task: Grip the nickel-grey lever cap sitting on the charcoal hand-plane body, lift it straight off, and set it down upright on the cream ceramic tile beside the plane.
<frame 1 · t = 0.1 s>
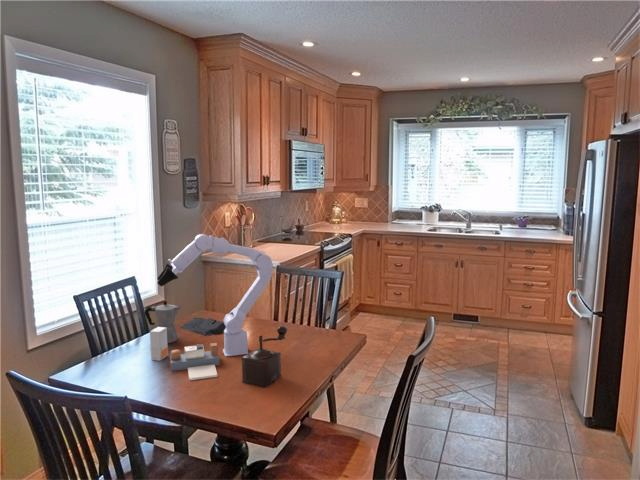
hand: (159, 282, 188), 32 cm above the table, tool tilted 50°, fingers open, 7 cm apart
plane body: (194, 363, 189), on the table
coffeepot: (164, 340, 216), on the table
lever cap: (194, 356, 189), point 3 cm above the table, touching plane body
dark slate chunk: (205, 329, 232), on the table
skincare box: (159, 358, 196), on the table
manual coffee grinder: (266, 377, 177), on the table
tile: (202, 373, 181), on the table
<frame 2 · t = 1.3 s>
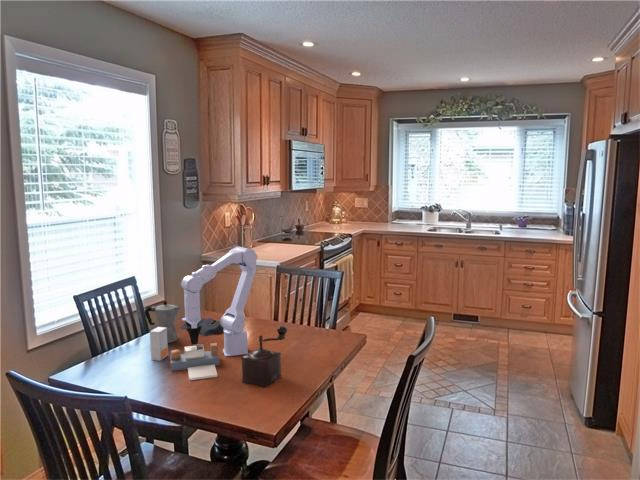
hand: (193, 340, 188), 9 cm above the table, tool pointing down, fingers open, 7 cm apart
nothing on the table moved.
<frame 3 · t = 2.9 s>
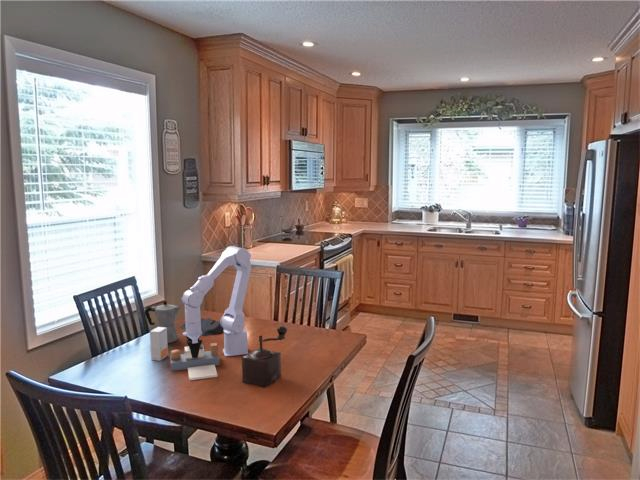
hand: (194, 355, 189), 4 cm above the table, tool pointing down, fingers closed on lever cap, 5 cm apart
lever cap: (194, 356, 189), point 3 cm above the table, touching gripper, plane body
everything else where it was.
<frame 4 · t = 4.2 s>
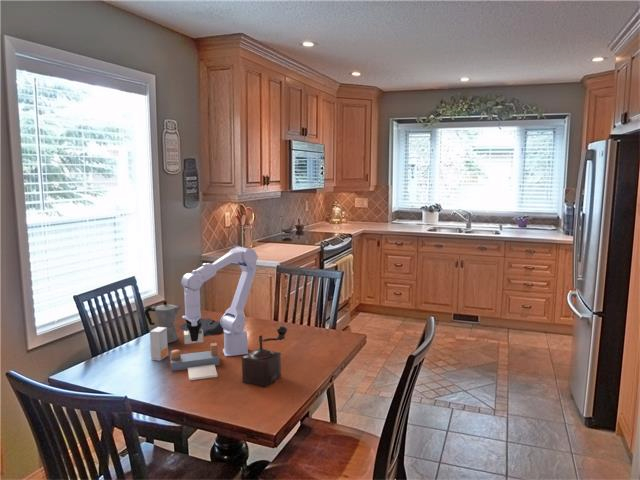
hand: (194, 338, 188), 10 cm above the table, tool pointing down, fingers closed on lever cap, 5 cm apart
lever cap: (193, 340, 188), point 10 cm above the table, touching gripper
everything else where it was.
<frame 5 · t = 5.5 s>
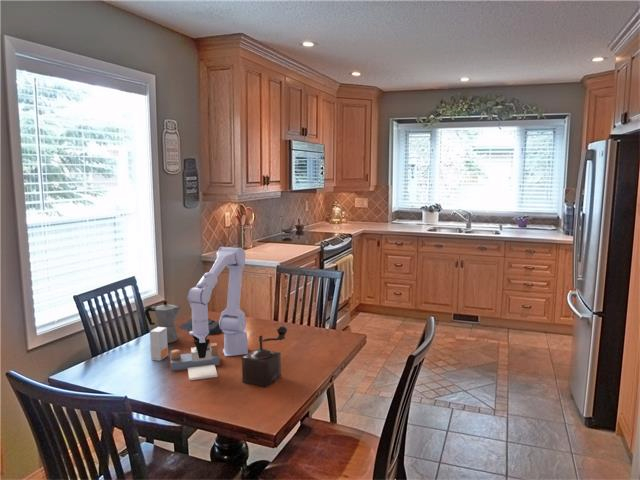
hand: (201, 355, 180), 7 cm above the table, tool pointing down, fingers closed on lever cap, 5 cm apart
lever cap: (201, 358, 180), point 6 cm above the table, touching gripper
when the fingers open (3 cm above the table, at t = 6.8 s): lever cap stays where it is, resting on tile.
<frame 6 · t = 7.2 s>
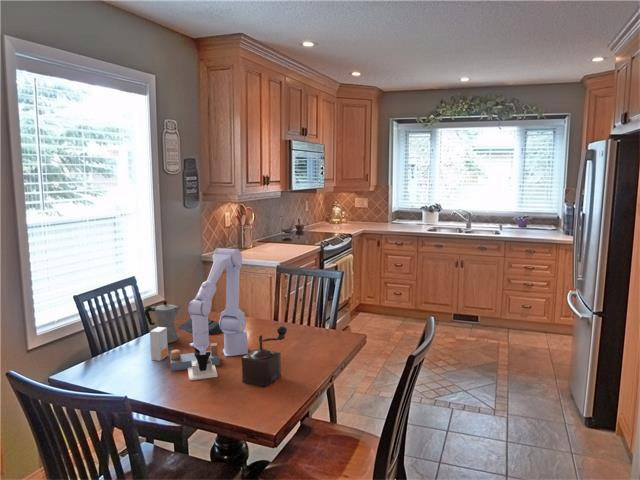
hand: (202, 366, 180), 3 cm above the table, tool pointing down, fingers open, 7 cm apart
lever cap: (201, 371, 181), point 1 cm above the table, touching tile
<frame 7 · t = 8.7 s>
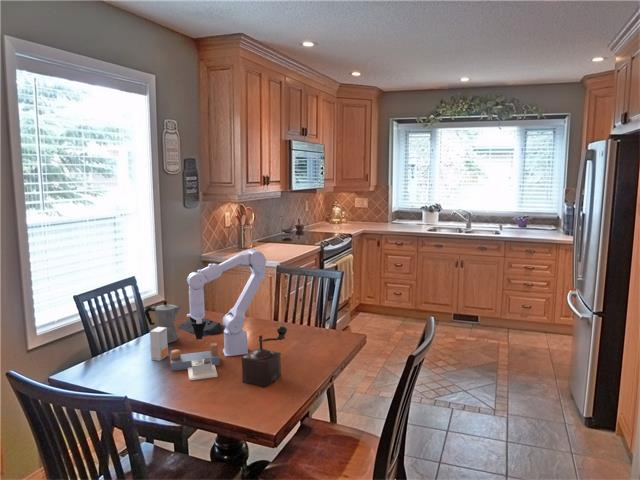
hand: (198, 335, 194), 9 cm above the table, tool pointing down, fingers open, 7 cm apart
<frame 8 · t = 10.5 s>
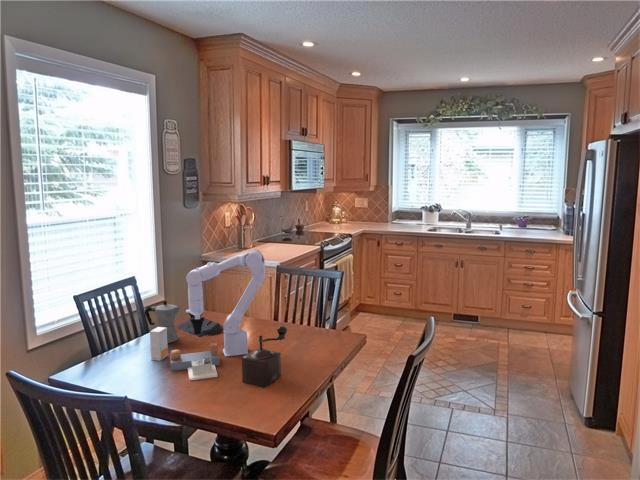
hand: (197, 331, 199), 9 cm above the table, tool pointing down, fingers open, 7 cm apart
at the end: lever cap inside the target area on the tile (0.1 cm from its centre), point 0.8 cm above the tile's base; lever cap tilted 0°; the gripper is holding nothing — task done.
